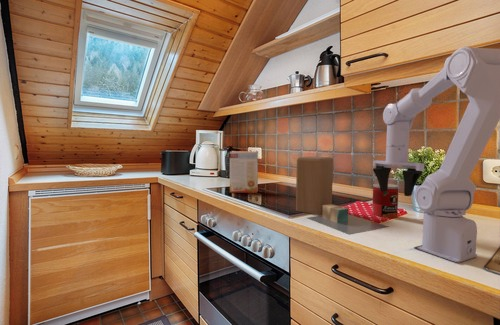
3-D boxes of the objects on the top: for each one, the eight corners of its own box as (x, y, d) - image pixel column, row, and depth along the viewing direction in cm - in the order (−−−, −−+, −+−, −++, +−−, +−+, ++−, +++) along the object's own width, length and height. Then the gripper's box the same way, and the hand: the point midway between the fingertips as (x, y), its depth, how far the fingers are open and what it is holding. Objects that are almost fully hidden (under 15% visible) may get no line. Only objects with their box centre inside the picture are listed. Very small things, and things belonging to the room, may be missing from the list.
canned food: (383, 220, 88) (385, 187, 87) (366, 214, 95) (367, 183, 94) (402, 219, 90) (404, 186, 89) (384, 213, 97) (385, 183, 97)
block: (307, 208, 105) (308, 156, 104) (332, 212, 99) (334, 157, 97) (294, 212, 97) (295, 157, 96) (320, 217, 91) (322, 158, 90)
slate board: (389, 229, 79) (389, 226, 79) (349, 237, 72) (349, 234, 71) (342, 214, 95) (342, 212, 95) (306, 220, 88) (306, 217, 88)
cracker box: (257, 191, 142) (258, 151, 140) (256, 193, 136) (257, 151, 134) (231, 190, 143) (231, 151, 142) (229, 192, 137) (229, 151, 136)
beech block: (348, 208, 83) (332, 204, 89) (338, 210, 81) (322, 205, 88) (347, 221, 84) (331, 216, 90) (338, 223, 82) (322, 217, 88)
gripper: (431, 146, 73) (429, 196, 74) (384, 146, 86) (382, 188, 87) (415, 146, 70) (413, 198, 71) (368, 146, 83) (367, 190, 84)
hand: (395, 193), depth 79 cm, fingers open, 7 cm apart
